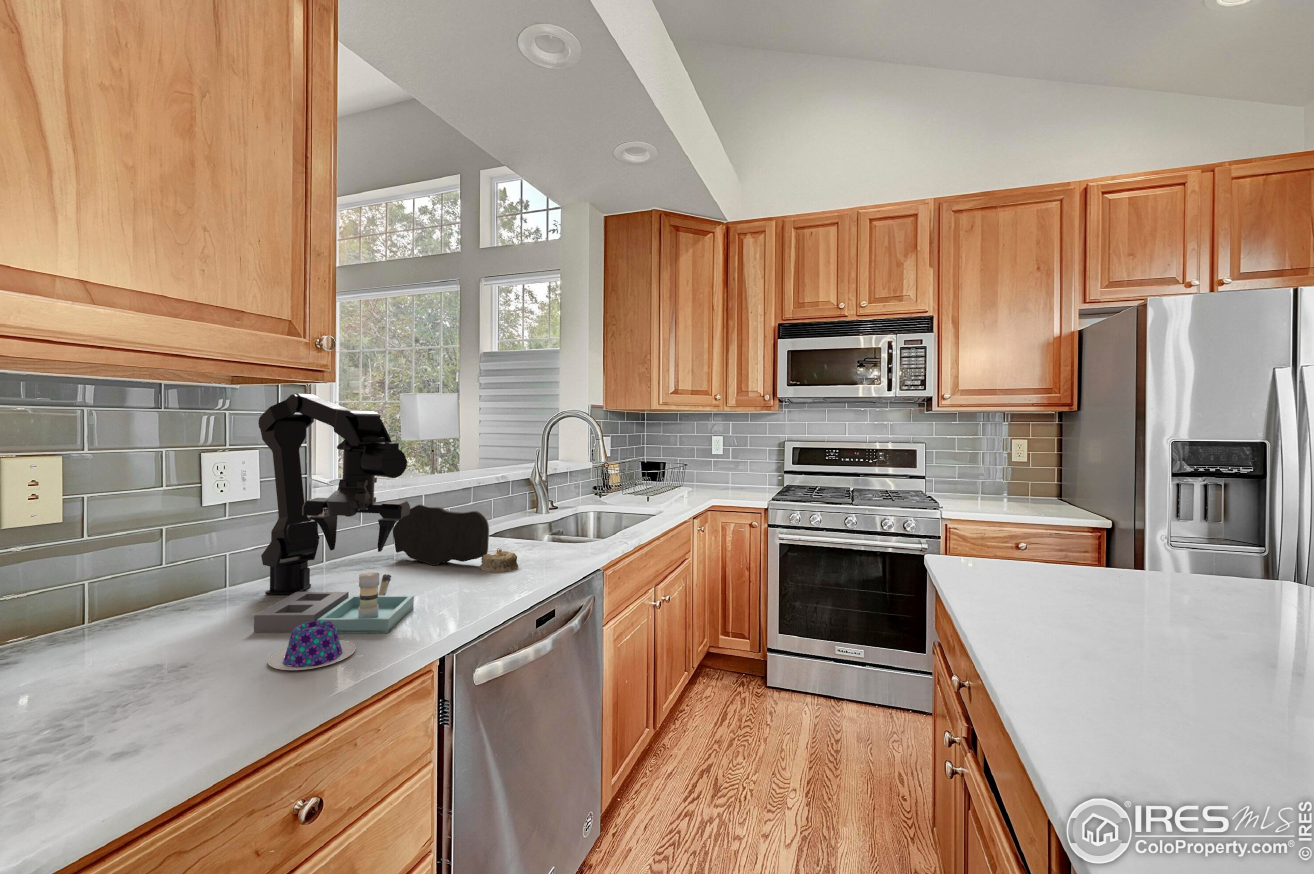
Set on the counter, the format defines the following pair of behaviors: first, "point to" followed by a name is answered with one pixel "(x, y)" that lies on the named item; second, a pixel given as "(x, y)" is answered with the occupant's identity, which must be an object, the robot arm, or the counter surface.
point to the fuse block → (297, 610)
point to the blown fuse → (368, 595)
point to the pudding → (312, 647)
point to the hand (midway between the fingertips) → (356, 550)
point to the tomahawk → (384, 584)
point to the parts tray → (388, 618)
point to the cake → (499, 561)
